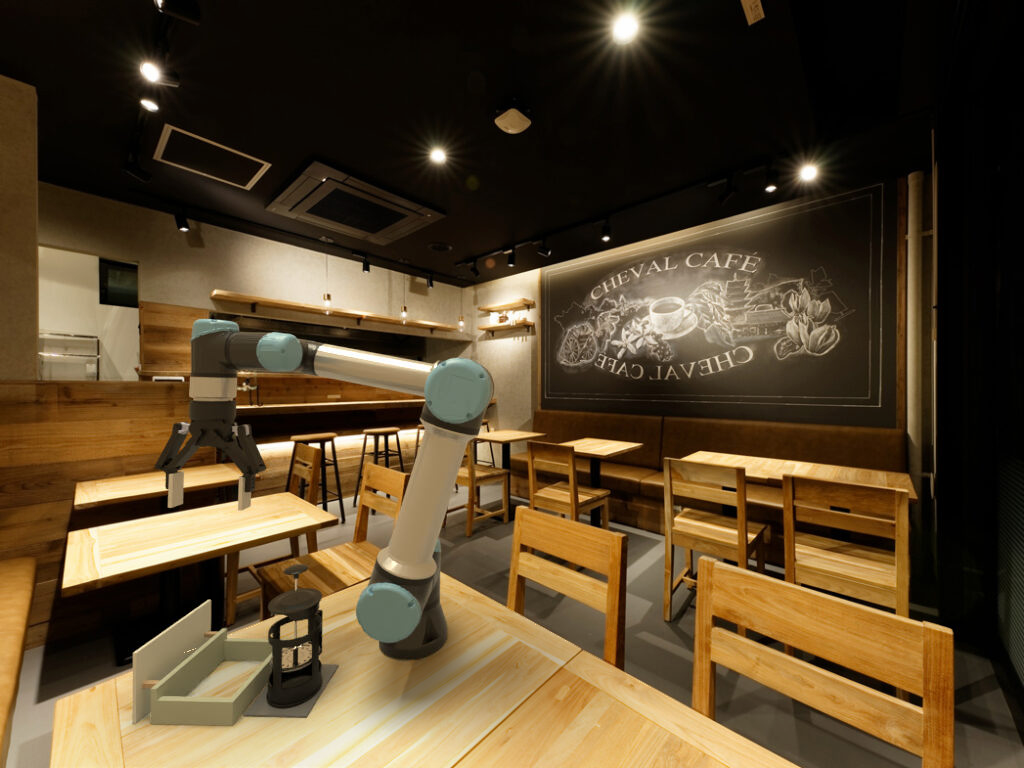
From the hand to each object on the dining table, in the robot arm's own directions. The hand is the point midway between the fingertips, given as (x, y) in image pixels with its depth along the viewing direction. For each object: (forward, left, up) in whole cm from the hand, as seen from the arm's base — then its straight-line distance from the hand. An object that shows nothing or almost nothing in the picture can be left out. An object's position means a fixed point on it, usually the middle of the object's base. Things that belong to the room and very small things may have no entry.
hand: (209, 507), depth 81 cm
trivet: (-19, +3, -33) cm, 38 cm away
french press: (-19, +3, -33) cm, 38 cm away
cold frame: (-4, +3, -33) cm, 34 cm away
